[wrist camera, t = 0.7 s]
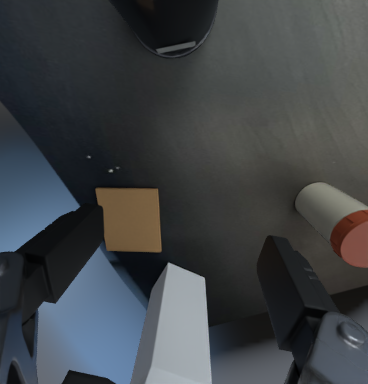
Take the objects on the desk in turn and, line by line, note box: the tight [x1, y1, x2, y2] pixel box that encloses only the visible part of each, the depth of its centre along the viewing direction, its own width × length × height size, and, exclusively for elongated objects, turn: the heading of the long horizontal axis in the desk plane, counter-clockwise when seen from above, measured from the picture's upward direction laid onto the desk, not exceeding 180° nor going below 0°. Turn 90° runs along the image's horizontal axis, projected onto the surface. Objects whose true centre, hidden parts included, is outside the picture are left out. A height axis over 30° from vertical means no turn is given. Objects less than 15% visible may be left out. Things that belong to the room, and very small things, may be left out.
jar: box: [295, 182, 368, 245], centre depth 24 cm, size 6×6×9 cm
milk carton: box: [130, 263, 212, 384], centre depth 27 cm, size 7×7×19 cm
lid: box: [330, 210, 368, 267], centre depth 20 cm, size 6×6×2 cm
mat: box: [95, 188, 161, 252], centre depth 31 cm, size 11×9×1 cm
